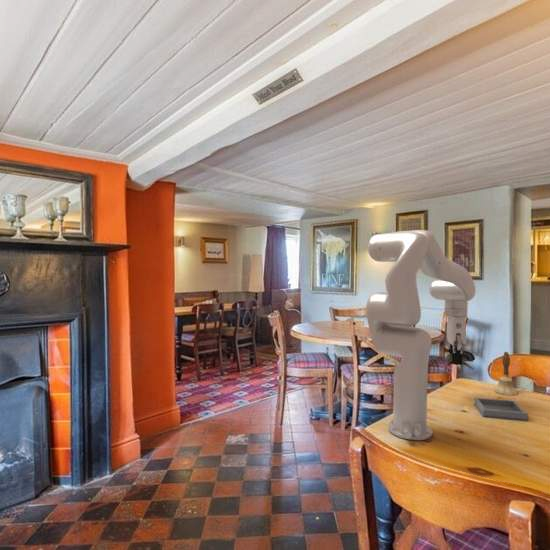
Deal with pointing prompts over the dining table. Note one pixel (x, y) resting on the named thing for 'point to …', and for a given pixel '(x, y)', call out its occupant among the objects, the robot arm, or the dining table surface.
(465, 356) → the eagle figurine
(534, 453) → the dining table surface
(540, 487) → the dining table surface
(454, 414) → the dining table surface
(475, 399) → the holder
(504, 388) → the hand bell
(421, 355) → the robot arm
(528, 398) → the dining table surface
